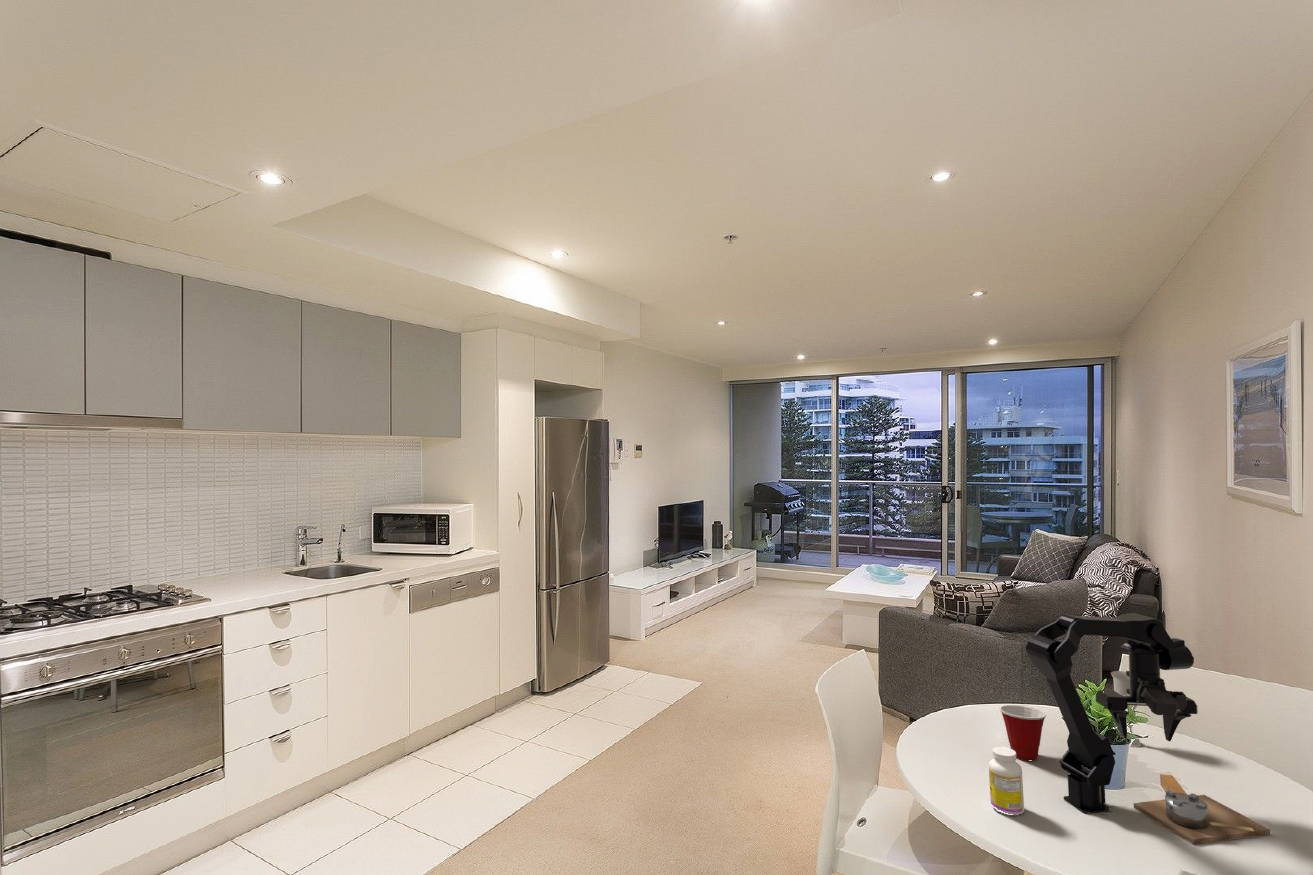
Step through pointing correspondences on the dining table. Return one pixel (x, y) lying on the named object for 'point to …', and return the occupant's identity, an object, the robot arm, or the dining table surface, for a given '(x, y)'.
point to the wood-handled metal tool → (1183, 804)
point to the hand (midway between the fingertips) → (1146, 739)
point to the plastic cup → (1023, 729)
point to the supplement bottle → (1006, 781)
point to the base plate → (1219, 818)
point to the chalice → (1121, 687)
